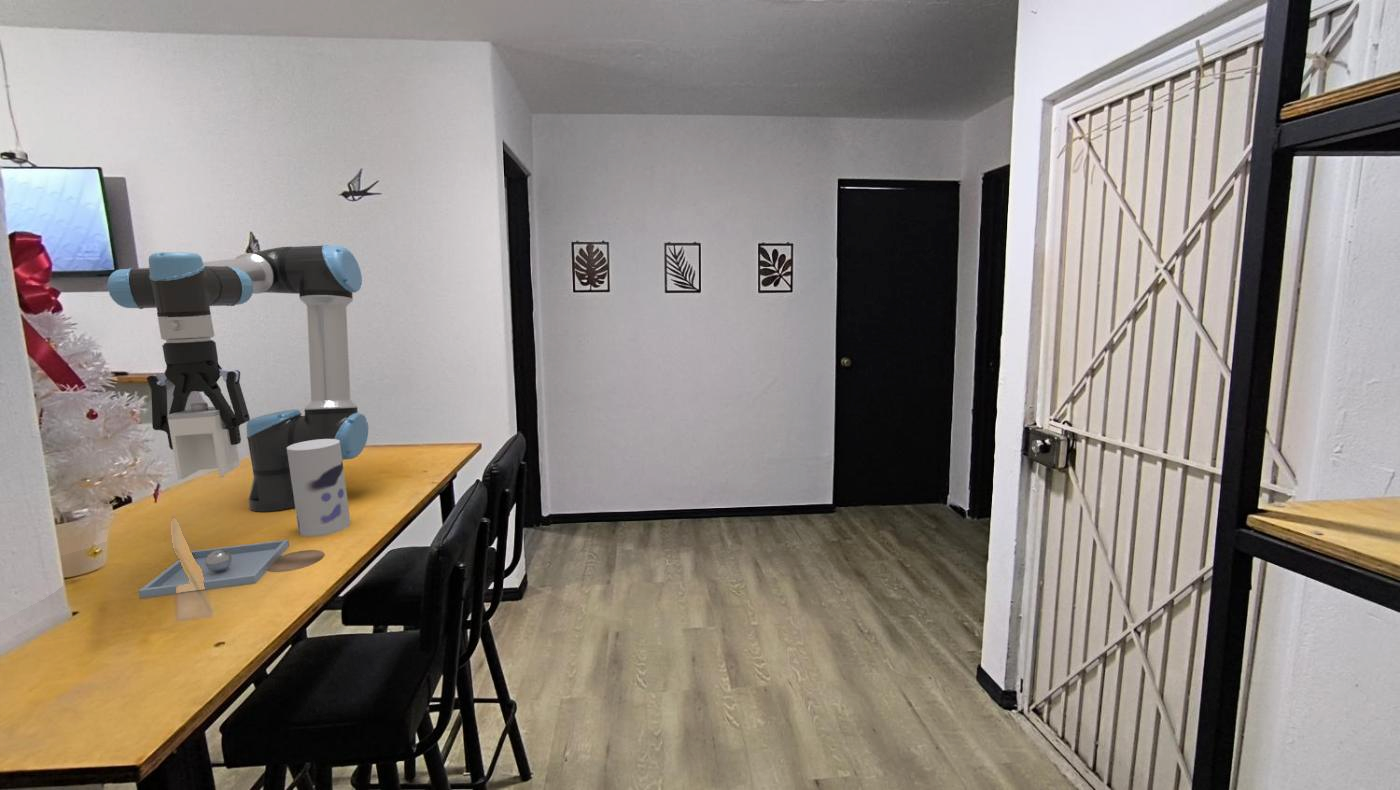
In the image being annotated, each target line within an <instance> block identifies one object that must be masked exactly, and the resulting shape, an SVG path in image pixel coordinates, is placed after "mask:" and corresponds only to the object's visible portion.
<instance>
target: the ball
mask: <svg viewBox="0 0 1400 790" xmlns="http://www.w3.org/2000/svg"><path fill="white" fill-rule="evenodd" d="M231 561H232V558H231V555H230V554H229V553H228V552H226V551H223V550H218V551H214V552H212V553H211V554H209V555H208V557H207V558H206V561H205V565H206V567H207V568H208V569H209V570H210V571H213V572H220V571H223V570H225V569H227V568H228V567H229V566H230V564H231Z"/></svg>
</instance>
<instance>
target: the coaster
mask: <svg viewBox="0 0 1400 790" xmlns="http://www.w3.org/2000/svg"><path fill="white" fill-rule="evenodd" d="M324 558H325V552H323V550H317V549H307V550H306V549H305V550H299V551H294V552H289V553H287V554H282V555H281V556H280V557H279V558H278V559H277V560H276V561H275V563H274V564H273V565H272V566H271V567H270V568H269V569H268V570H267V572H272V573H286V572H291V571H296V570H301V569H304V568H308V567H310V566H312V565H314V564H317V563H319V562H320V561H321V560H323V559H324Z"/></svg>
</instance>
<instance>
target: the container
mask: <svg viewBox="0 0 1400 790" xmlns="http://www.w3.org/2000/svg"><path fill="white" fill-rule="evenodd" d="M287 454H288V461H289V468H290V475H291V482H292V488H293V495H294V502H295V507H294V509H295V515H296V522H297V529H298V534H299V536H301V537H302V536H303V537H307V538H308V537H310V538H311V537H314V538H315V537H323V536H327V535H332V534H335V533H338V532H341V531H343V530H345V529H347V528H349V527H350V525H351V516H350V507H349V501H348V493H347V485H346V477H345V471H344V464H343V463H344V462H343V461H344V460H342V454H341V446H340V441H339V440H337V439H318V440H310V441H304V442H299V443H296V444H292V445H290V446H288V447H287Z"/></svg>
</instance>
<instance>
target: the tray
mask: <svg viewBox="0 0 1400 790" xmlns="http://www.w3.org/2000/svg"><path fill="white" fill-rule="evenodd" d="M289 547H290V539H283V540H273V541H266V542H258V543H251V544H250V543H247V544H241V545H240V544H239V545H232V546H223V547H216V548H215V547H214V548H207V549H198V550H197V549H196V550H191V553H192V555H193V557H194V559H195V561H196V563H197V564H198V565H199V566H200V568H201V569H202V573H203V577H204V581H203V583H204V587H205V590H204V591H208V590H215V589H222V588H230V587H231V588H232V587H237V586H245V585H255V584H257V583H258V582H259V580H260V579H261V578H262V577H263V576H264V575H265V574H266V573H267V572H268V571H267V570H268V569H269V568H270V567H271V566H272V565H273V564H274V563H275V561H276V560H277V559H278V558H279V557H280V556H283V555H284V553H285V552H286V551H287V550H288V548H289ZM218 550H223V551H226V552H228V553H229V554H230V555H231V558H232V561H231V564H230V566H229V567H228V568H227V569H225V570H223V571H220V572H213V571H210V570H209V569H208V568H207V567H206V565H205V561H206V558H207V557H208V555H209V554H211V553H212V552H214V551H218ZM188 582H189V578H188V576H187V574H186V573H185V571H184V569H183V567H182V565H181V562H180V561H179V559H178V560H176V561H175V562H174V563H173V564H171V565H170V566H168V568H166V569H165V570H163V571H162V572H161V573H160V574H158V575H157V576H155V578H153V579H152V580H150V582H148V583H147V584H146V585H145V586H143V587H142V588H140V589H139V590H138V593H139V598H140V600H141V599H147V598H154V597H163V596H169V595H171V596H172V595H177V594H176V587H177V586H179V585H184V584H190V583H191V582H190V583H188Z"/></svg>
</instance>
